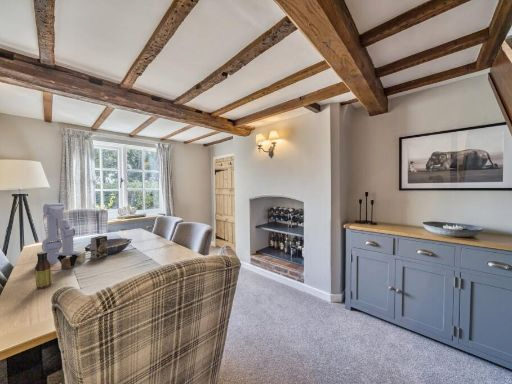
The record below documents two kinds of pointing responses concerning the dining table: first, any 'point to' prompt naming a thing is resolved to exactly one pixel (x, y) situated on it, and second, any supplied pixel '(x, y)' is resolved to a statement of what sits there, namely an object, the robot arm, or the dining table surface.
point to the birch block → (80, 258)
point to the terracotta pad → (55, 268)
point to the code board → (72, 268)
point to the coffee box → (98, 246)
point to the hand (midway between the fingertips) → (68, 266)
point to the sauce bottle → (42, 271)
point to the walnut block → (66, 264)
